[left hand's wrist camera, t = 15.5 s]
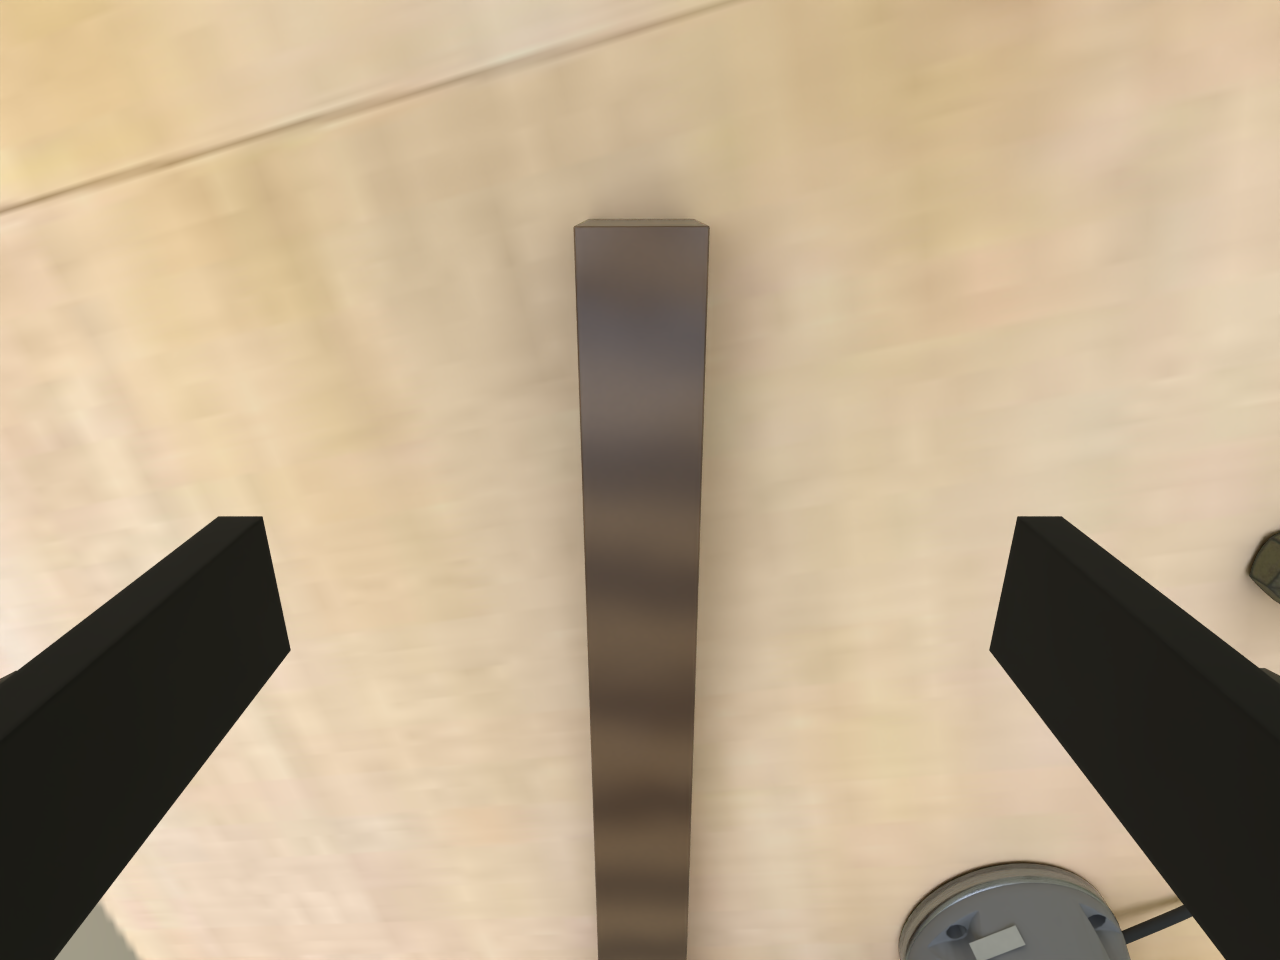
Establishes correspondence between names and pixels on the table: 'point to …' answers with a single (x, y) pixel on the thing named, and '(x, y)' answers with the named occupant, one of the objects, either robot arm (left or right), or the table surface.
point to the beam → (641, 563)
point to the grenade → (1268, 568)
